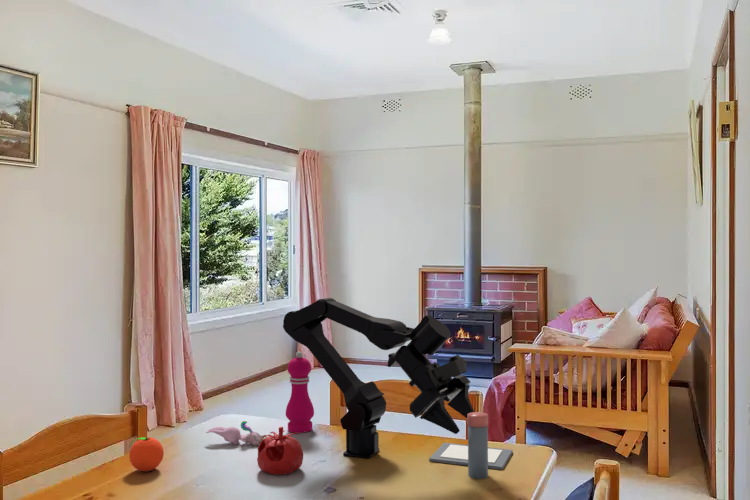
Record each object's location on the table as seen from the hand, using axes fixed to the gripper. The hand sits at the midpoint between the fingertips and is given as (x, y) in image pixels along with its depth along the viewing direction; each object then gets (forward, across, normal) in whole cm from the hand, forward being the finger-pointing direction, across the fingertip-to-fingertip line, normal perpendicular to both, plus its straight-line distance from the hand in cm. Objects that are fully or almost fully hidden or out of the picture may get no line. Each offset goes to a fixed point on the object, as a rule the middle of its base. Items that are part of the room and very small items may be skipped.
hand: (467, 426), depth 140 cm
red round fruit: (-18, -18, +32) cm, 41 cm away
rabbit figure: (-33, -9, +46) cm, 57 cm away
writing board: (+4, +10, +9) cm, 14 cm away
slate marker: (+8, 0, +5) cm, 10 cm away
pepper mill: (-29, +8, +42) cm, 51 cm away
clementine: (-36, -32, +49) cm, 69 cm away
